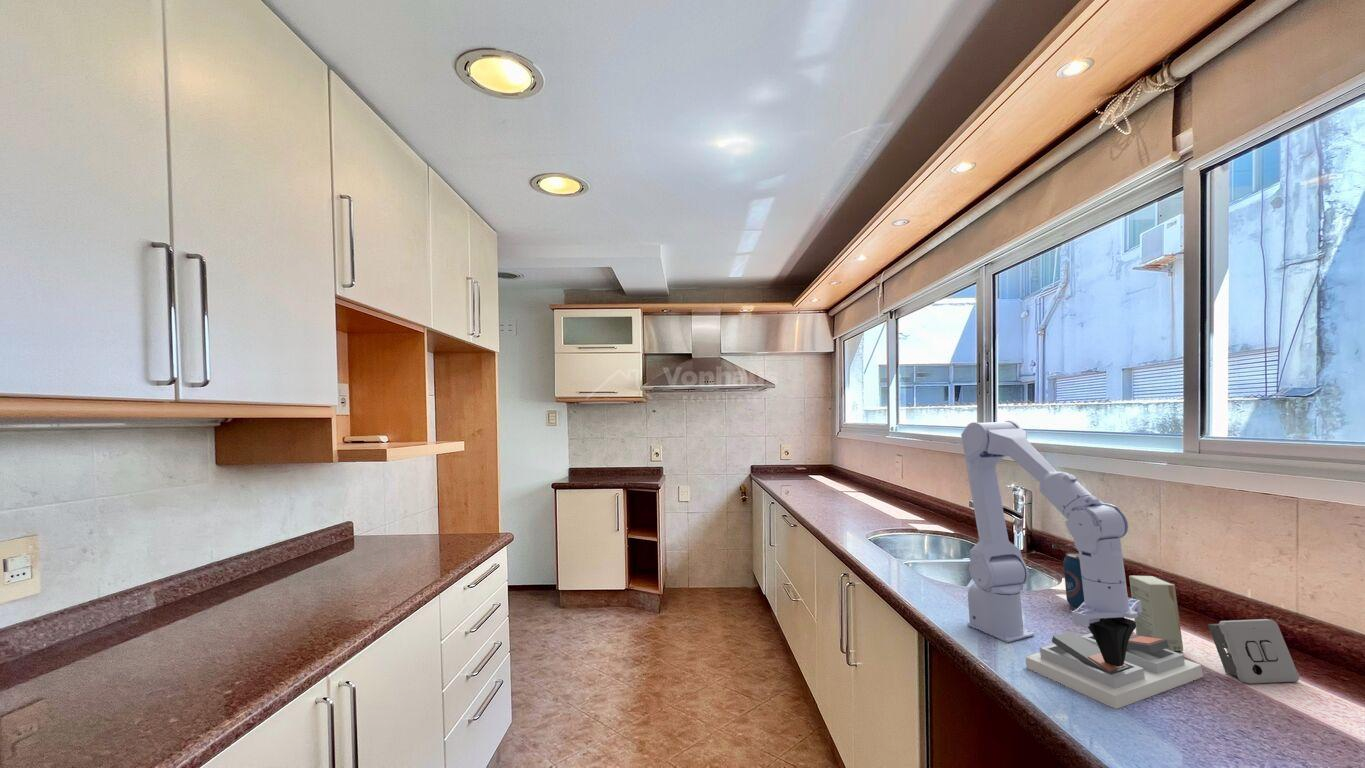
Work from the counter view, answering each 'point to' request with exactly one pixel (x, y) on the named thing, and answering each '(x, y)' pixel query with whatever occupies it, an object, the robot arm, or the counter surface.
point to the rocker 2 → (1146, 644)
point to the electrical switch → (1254, 651)
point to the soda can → (1073, 579)
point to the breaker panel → (1116, 674)
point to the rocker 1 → (1085, 652)
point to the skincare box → (1157, 610)
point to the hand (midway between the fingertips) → (1113, 663)
